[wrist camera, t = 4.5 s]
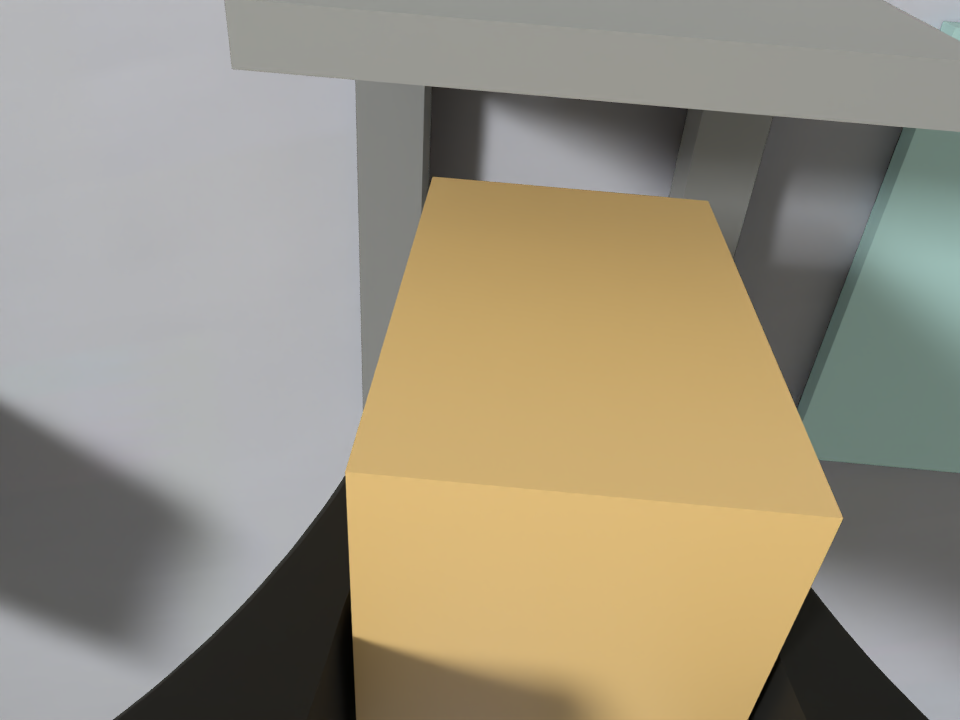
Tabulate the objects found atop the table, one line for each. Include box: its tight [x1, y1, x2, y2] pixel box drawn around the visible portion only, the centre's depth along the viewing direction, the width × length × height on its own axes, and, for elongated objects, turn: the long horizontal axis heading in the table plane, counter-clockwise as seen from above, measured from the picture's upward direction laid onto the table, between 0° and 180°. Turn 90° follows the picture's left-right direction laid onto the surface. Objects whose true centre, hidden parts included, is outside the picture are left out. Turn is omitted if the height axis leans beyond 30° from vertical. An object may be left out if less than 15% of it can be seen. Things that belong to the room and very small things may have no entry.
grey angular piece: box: [224, 0, 960, 410], centre depth 17 cm, size 13×9×9 cm
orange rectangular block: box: [345, 177, 843, 720], centre depth 12 cm, size 8×4×7 cm, turn 176°
